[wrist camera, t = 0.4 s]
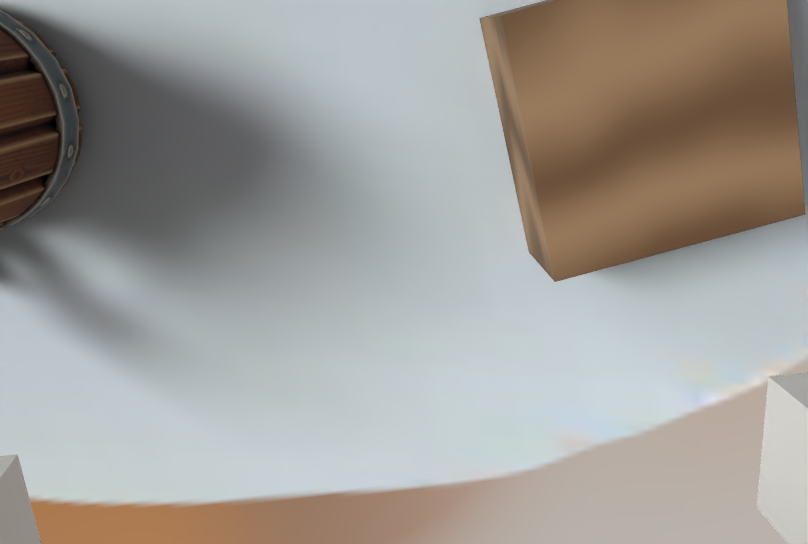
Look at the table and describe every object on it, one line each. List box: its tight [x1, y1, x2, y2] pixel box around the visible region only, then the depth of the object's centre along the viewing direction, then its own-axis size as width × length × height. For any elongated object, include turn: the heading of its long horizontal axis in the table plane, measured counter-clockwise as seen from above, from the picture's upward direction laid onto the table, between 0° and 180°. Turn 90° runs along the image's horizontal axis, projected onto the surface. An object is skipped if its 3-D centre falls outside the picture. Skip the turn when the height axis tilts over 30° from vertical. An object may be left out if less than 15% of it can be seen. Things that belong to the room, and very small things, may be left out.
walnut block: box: [480, 0, 806, 282], centre depth 36 cm, size 12×12×5 cm
